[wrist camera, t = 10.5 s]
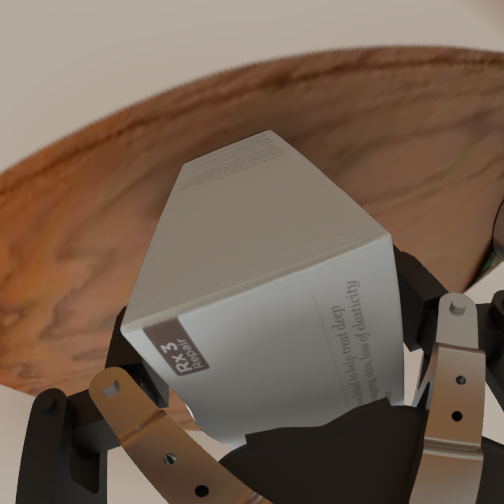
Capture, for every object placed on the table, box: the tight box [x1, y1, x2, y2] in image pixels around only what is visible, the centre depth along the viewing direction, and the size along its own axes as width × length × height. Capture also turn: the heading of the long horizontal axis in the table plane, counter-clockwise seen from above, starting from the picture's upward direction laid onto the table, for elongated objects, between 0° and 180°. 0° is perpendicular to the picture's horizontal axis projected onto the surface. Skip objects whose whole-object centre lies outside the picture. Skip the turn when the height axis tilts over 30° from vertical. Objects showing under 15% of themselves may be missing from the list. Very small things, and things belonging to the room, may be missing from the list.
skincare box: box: [120, 130, 404, 450], centre depth 14 cm, size 8×6×15 cm
